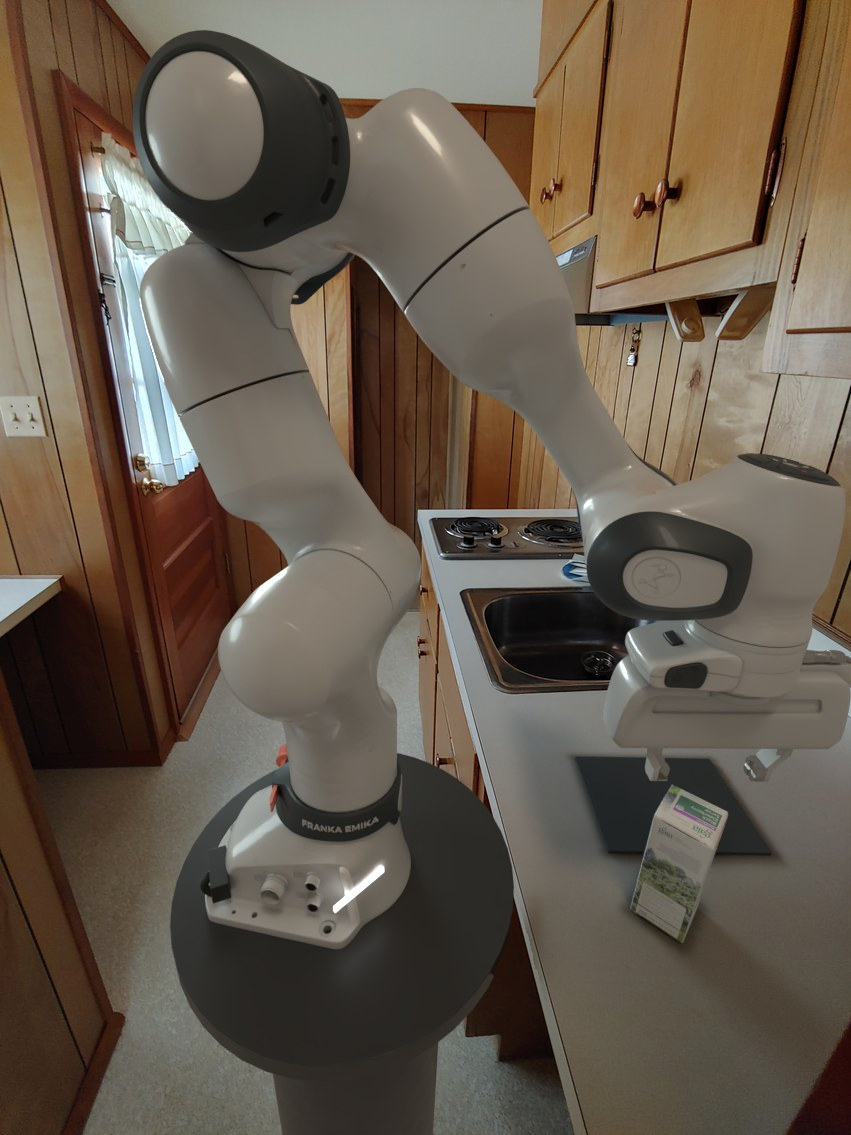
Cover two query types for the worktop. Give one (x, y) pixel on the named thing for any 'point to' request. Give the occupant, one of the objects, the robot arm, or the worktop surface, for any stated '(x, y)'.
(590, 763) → the mat
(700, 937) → the worktop surface
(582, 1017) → the worktop surface
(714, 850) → the syrup box
